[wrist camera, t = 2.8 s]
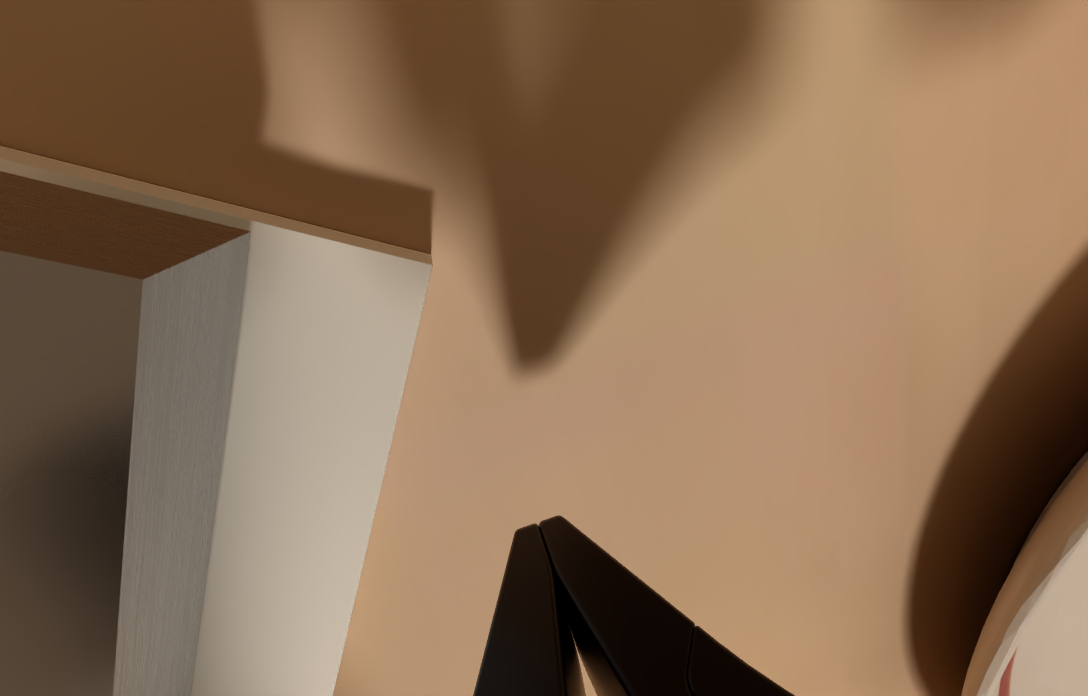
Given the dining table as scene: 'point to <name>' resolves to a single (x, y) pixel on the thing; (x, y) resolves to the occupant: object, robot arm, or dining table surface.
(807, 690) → the dining table surface
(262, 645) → the door board
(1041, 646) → the dinner plate
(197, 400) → the bar
